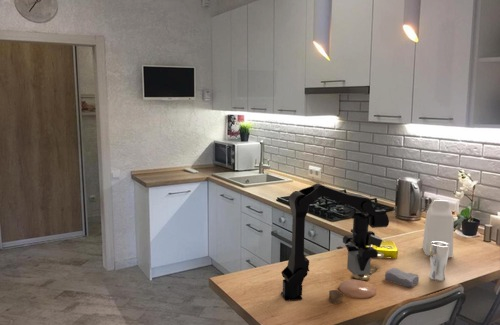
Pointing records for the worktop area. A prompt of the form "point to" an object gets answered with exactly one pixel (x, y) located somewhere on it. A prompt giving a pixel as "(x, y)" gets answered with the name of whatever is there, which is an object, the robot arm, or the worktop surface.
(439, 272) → the beer glass
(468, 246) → the worktop surface
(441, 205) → the milk
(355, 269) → the matte slate cube
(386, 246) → the element tile
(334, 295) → the walnut block
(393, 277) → the stone block
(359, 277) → the bronze balance
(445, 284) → the worktop surface
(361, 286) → the peach round platter
